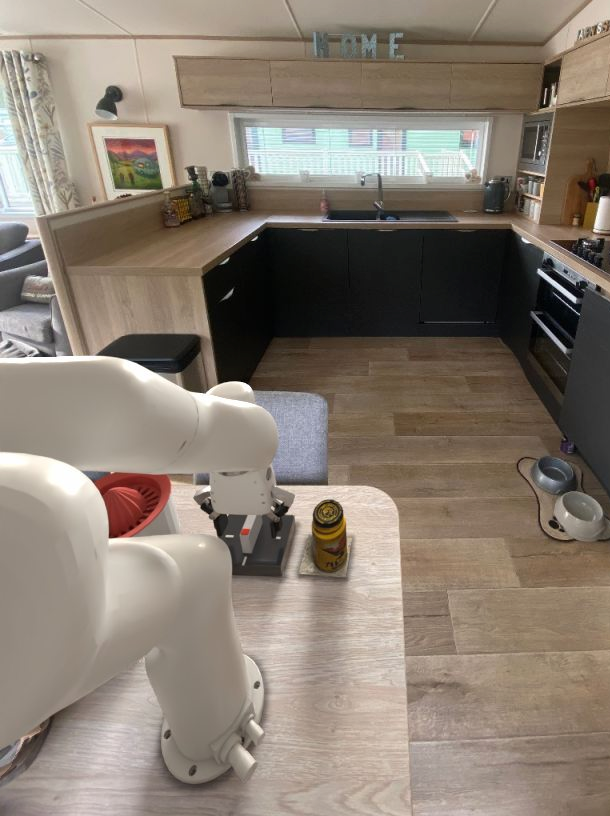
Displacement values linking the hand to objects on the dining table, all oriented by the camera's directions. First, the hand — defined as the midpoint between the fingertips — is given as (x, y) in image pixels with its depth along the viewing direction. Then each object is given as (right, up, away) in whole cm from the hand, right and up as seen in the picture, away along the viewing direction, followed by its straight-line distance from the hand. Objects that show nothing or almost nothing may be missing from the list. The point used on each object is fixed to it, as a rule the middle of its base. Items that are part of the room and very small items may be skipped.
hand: (249, 530), depth 70 cm
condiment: (+14, -6, +2) cm, 15 cm away
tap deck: (0, -5, +3) cm, 6 cm away
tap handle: (0, -2, +2) cm, 3 cm away
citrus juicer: (-19, -7, -2) cm, 21 cm away
